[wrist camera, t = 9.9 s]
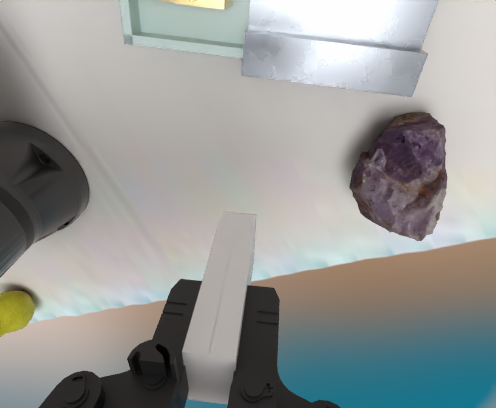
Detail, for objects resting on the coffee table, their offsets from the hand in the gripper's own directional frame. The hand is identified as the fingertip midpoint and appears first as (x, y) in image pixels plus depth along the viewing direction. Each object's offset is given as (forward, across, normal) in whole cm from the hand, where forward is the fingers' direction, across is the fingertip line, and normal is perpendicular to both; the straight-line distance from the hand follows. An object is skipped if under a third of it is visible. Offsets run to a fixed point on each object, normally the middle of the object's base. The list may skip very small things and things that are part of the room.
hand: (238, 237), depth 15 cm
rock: (+23, +14, -7) cm, 28 cm away
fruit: (+24, -42, -39) cm, 62 cm away
